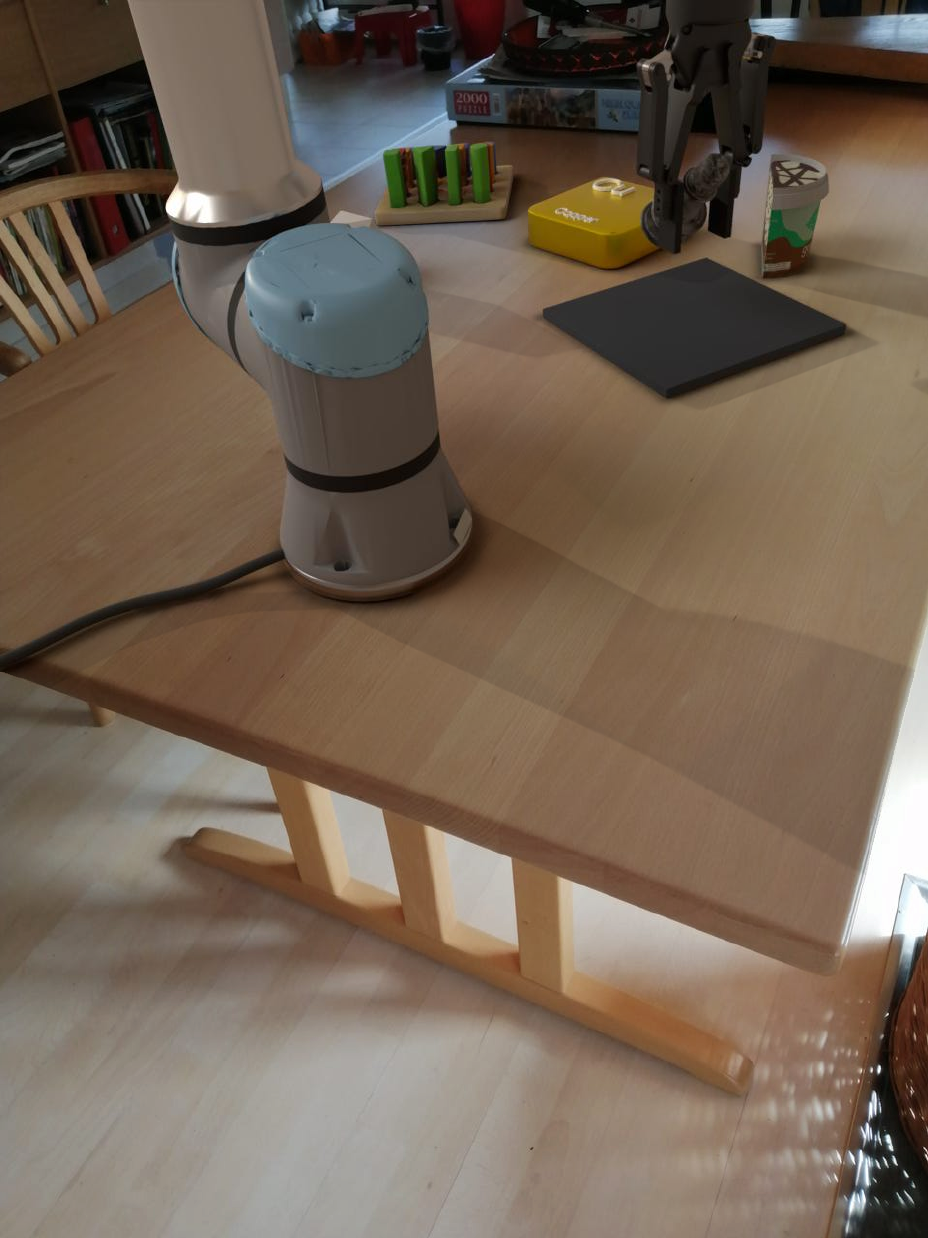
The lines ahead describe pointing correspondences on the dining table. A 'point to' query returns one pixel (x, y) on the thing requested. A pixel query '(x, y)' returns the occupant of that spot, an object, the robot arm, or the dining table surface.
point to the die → (354, 220)
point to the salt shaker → (691, 197)
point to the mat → (691, 325)
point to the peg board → (444, 185)
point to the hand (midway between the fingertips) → (694, 240)
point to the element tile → (594, 223)
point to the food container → (791, 212)
